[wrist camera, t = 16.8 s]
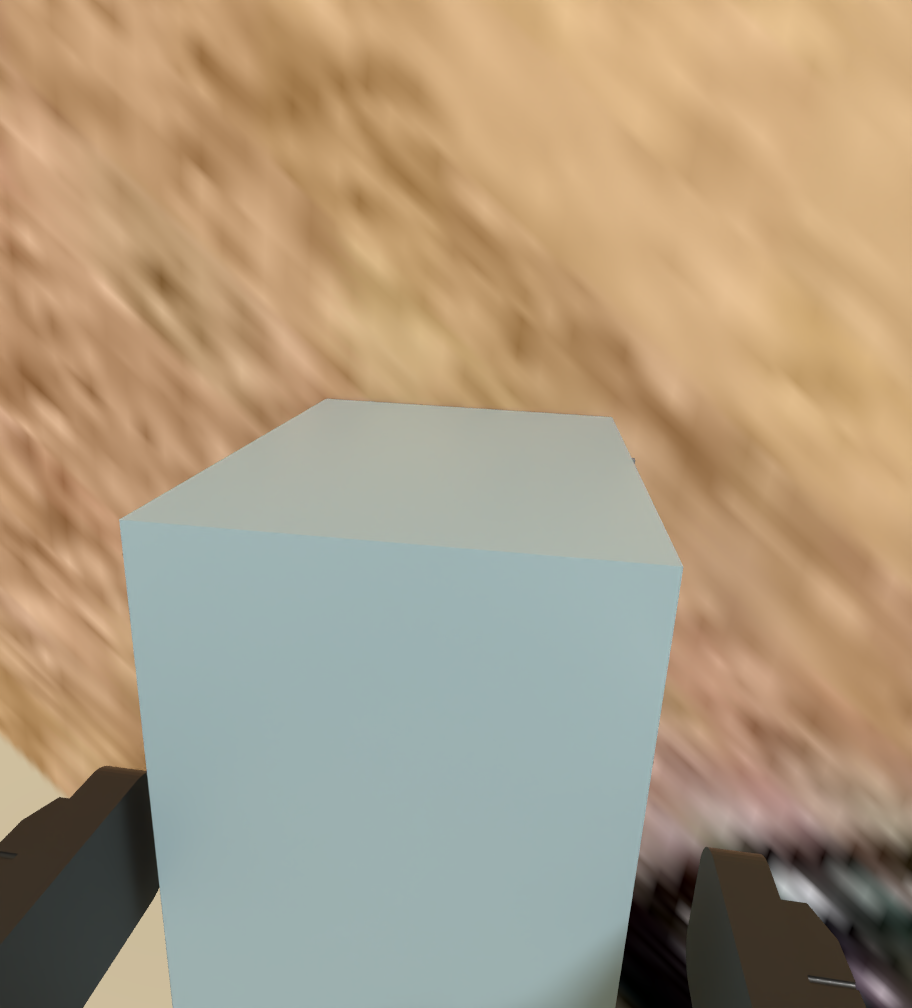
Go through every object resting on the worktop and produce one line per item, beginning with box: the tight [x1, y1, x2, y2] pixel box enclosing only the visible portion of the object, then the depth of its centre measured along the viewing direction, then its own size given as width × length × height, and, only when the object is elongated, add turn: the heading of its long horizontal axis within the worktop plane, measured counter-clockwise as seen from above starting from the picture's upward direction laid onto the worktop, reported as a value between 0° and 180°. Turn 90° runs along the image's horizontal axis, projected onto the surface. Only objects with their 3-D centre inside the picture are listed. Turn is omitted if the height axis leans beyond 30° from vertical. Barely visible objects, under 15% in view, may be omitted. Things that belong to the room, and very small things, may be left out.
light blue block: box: [119, 399, 683, 1008], centre depth 14 cm, size 7×10×9 cm
